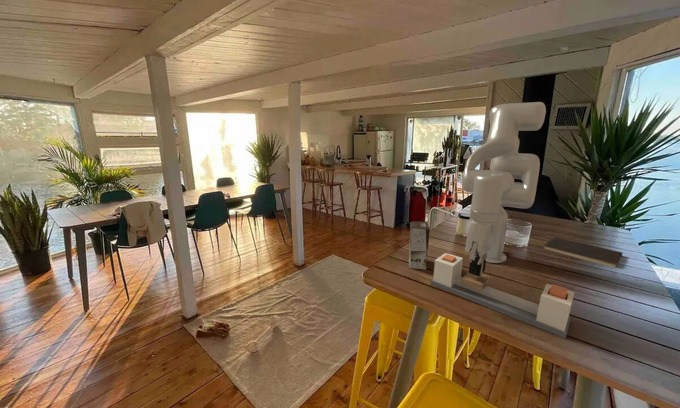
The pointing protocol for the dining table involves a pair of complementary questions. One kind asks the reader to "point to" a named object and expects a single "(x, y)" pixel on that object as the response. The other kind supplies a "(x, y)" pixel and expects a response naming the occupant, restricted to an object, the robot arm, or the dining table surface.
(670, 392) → the dining table surface
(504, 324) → the dining table surface
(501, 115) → the robot arm
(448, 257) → the block
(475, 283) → the carriage
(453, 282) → the rail base
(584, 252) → the hardcover book
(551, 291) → the block
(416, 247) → the coffee box
